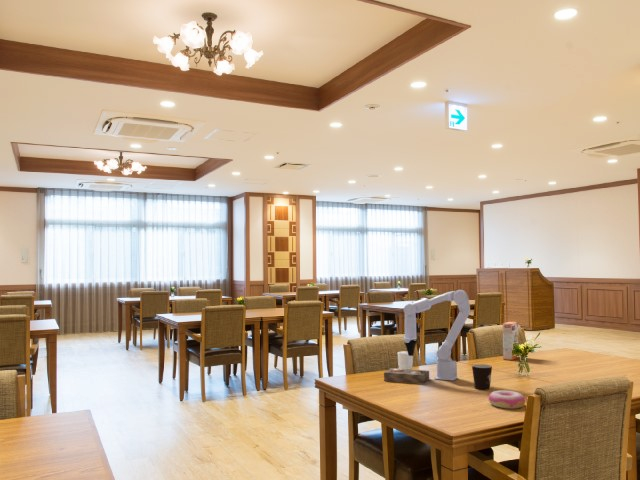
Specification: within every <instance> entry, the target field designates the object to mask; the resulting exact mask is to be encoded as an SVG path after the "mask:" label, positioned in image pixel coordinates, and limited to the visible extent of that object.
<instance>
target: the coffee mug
mask: <svg viewBox="0 0 640 480" xmlns="http://www.w3.org/2000/svg"><path fill="white" fill-rule="evenodd" d="M471 369H472V377H473V385H474V389H475V390H477V391H490V390H491V383H492V382H491V380H492V371H493V370H492V369H493V366H492V365H490V364H483V363H477V364H472V365H471Z"/></svg>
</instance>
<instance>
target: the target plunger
mask: <svg viewBox="0 0 640 480" xmlns="http://www.w3.org/2000/svg"><path fill="white" fill-rule="evenodd" d="M394 368H395V367H394ZM392 371H393V372H403V369H400V368H399V367H398V368H395V369H392Z"/></svg>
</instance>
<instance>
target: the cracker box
mask: <svg viewBox="0 0 640 480" xmlns="http://www.w3.org/2000/svg"><path fill="white" fill-rule="evenodd" d="M514 343H518V344H519V322H518V321H507V322H503V323H502V360H505V361H513V360H516V359H517V358H518V357H517V356H514V355H512V350H513V344H514Z"/></svg>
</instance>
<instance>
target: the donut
mask: <svg viewBox="0 0 640 480" xmlns="http://www.w3.org/2000/svg"><path fill="white" fill-rule="evenodd" d="M488 401H489V403H490V404H491V405H492V406H494V407H496V408H500V409H506V410H507V409H509V410H510V409H513V410H514V409H515V410H517V409H521V408H522V407H523V406H525V404H526V398H525V395H523V394H522V393H520V392H518V391H514V390H501V389H500V390H494V391H492V392H490V393H489V395H488Z"/></svg>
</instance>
